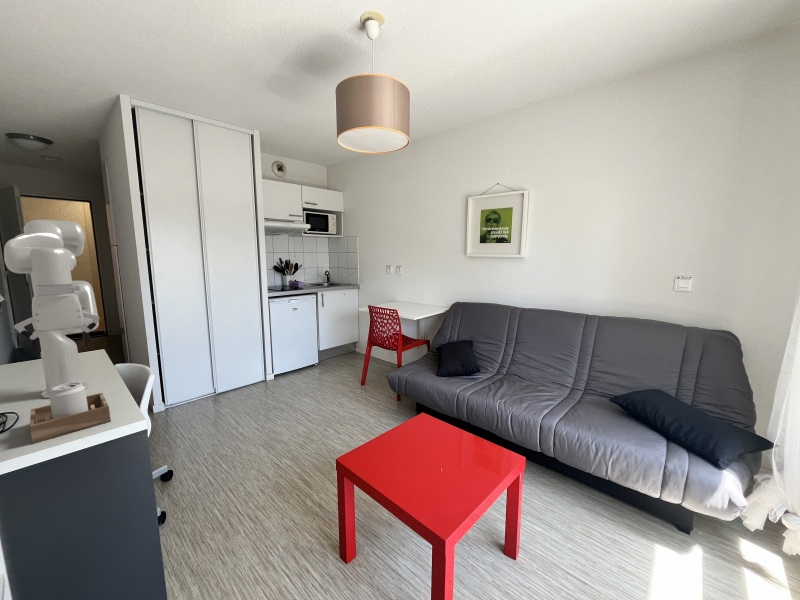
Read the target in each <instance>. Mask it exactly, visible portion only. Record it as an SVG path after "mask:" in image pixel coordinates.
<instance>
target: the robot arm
mask: <svg viewBox="0 0 800 600" xmlns="http://www.w3.org/2000/svg"><path fill="white" fill-rule="evenodd" d="M85 236H86V235H85V232H84V230H83V228H82V226H81V225H80V224H79V223H78V222H75V221H73V220H58V219H57V220H55V219H33V220H30V221H28V222H26V223H25V224H24V226H23V233H21V234H18V235H16V236H15V237H13V238H11V239H9V240H8V241H6V243H5V244H4V248H3V257H4V258H3V259H4V264H5V266H6V268H7V269H8V270H9V271H10V272H12V273H15V274H30V278H31V279H30V280H31V286H32V292H33V297H32V299H31V300H32V301H31V313H32V316H31V317H29V318H27V319H24V320H23V321H21V322H19V323H16V324H14V326H13V328H14V329H15V330H16V331H17V332H18V333H19V334H20V335H22V336H24V337H26V338H29V339H30V340H31V342H32V343H31V344H32V350H33V351H36V352H37V354H40V355H41V361H42V368H43V373H44V374H43V375H44V380H45V381H44V382H45V386H46V390H44V391H42V392H41V394H40V396H41V397H42V398H44V399H50V398H49V394H50V393H51V392H52V388H54V387H56V386H59V385H62V384H66V383H73V382H80V383H82V384H81V385H82V386H84V387H85V390H86V389H88V388H89V383H87V382H83V378H82V377H83V376H82V372H81V366H80V365H81V364H80V358H79V351H78V346H77V344H76V343H77V342H75V341H74V340H72V339H71V338H70V337H68V336H66V335H70V334H77V333H81V334H82V340H83V345H84V346H85V347H87V346H89V343H91V336H90V332H91V331H95V330H96V329H98V328H99V325H100V323H99V322H100V319H101V318H100V316H99V314H98V308H97V302H96V298H95V297H96V296H95V292H94V289H93V287H92V285H91V284H90V282H88V281H85V280H72V278H73V277H72V273H71V271H73V270H74V268H75V267H77V257H79V256H81V255H82V254H83V252H84V249H85V239H86V237H85ZM30 324H32V326H33V330H34V331H33V332H30V331H29V330H26V329H25V327H26V326H28V325H30Z"/></svg>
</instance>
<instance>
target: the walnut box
mask: <svg viewBox="0 0 800 600" xmlns="http://www.w3.org/2000/svg"><path fill="white" fill-rule="evenodd" d="M86 397H87V404H88V411H85V412H81V413H77V414H73V415H69V416H65V417H61V418H57V419H54V420H53V417H52V410H51V404H48V405H43V406H39V407H35V408H31V409H30V419H29V429H30V437H31V441H32V445H34V444H37V443H41V442H44V441H49V440H51V439H55V438H58V437H62V436H65V435H70V434H72V433H73V434H74V433H76V432H79V431H83V430H86V429H90V428H94V427H96V426H100V425H101V426H102V425H104V424H107V423H111V421H112V419H111V414H110V406H109V404H108V402H107V400H106V398H105V395H104V394H103V392H100V393H96V394H91V395H86Z"/></svg>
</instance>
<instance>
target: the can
mask: <svg viewBox="0 0 800 600" xmlns="http://www.w3.org/2000/svg"><path fill="white" fill-rule="evenodd" d="M82 383H83V382H82ZM82 383H80V382H73V383H66V384H62V385H59V386H56V387H54V388H52V392H51V393H50V394H49V398H48V399H49V403H50V404H49V405H51V410H52V417H53V420H54V419H57V418H61V417H65V416H69V415H73V414H77V413H81V412H85V411H88V404H87V397H86V396H87V392H86V389H85V387H84V386H82V385H81V384H82Z"/></svg>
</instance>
